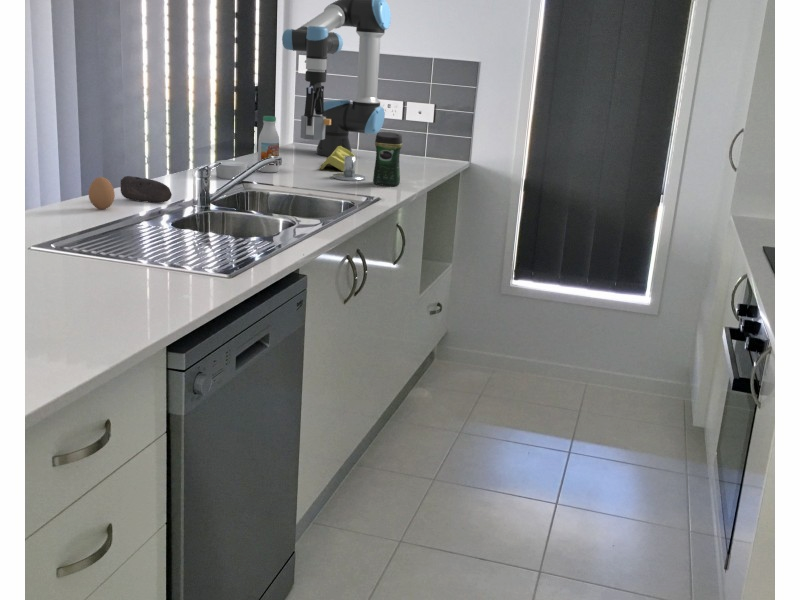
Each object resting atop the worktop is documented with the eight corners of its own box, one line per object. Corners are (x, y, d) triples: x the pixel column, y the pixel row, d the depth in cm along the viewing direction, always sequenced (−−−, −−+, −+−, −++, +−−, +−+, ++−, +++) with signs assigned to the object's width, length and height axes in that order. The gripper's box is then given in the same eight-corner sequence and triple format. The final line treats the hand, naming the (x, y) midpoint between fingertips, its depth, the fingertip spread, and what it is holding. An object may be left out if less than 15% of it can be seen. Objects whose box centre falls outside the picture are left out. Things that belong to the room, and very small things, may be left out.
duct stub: (337, 174, 320) (339, 152, 317) (368, 177, 318) (370, 156, 315) (328, 178, 309) (329, 156, 306) (360, 182, 306) (361, 160, 304)
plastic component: (350, 167, 325) (327, 153, 324) (340, 183, 327) (318, 169, 326) (358, 156, 343) (336, 143, 342) (349, 171, 346) (328, 158, 345)
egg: (117, 211, 234) (117, 179, 232) (92, 212, 231) (91, 179, 228) (111, 206, 240) (110, 174, 237) (86, 207, 236) (85, 175, 234)
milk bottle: (253, 171, 313) (254, 115, 307) (264, 168, 320) (265, 114, 314) (271, 173, 310) (273, 118, 304) (282, 171, 317) (284, 116, 311)
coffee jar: (401, 184, 310) (405, 132, 304) (396, 187, 302) (400, 134, 297) (375, 181, 311) (378, 129, 306) (370, 184, 304) (373, 132, 298)
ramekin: (227, 181, 290) (227, 166, 288) (208, 176, 297) (208, 161, 295) (254, 179, 298) (254, 164, 296) (234, 173, 305) (234, 159, 303)
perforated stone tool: (175, 202, 251) (175, 179, 249) (167, 206, 246) (167, 182, 244) (127, 197, 253) (127, 174, 251) (119, 200, 248) (118, 176, 246)
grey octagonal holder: (305, 135, 322) (306, 114, 319) (332, 138, 320) (333, 117, 318) (298, 138, 314) (299, 116, 312) (326, 141, 312) (327, 119, 310)
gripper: (315, 68, 320) (312, 129, 327) (296, 71, 300) (294, 135, 308) (334, 70, 319) (331, 131, 326) (316, 72, 299) (314, 137, 306)
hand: (313, 133), depth 317 cm, fingers closed on grey octagonal holder, 8 cm apart
